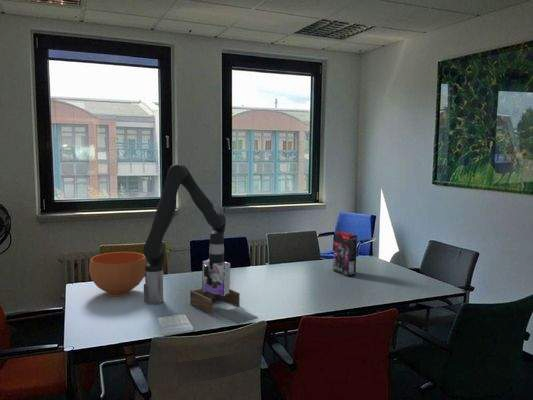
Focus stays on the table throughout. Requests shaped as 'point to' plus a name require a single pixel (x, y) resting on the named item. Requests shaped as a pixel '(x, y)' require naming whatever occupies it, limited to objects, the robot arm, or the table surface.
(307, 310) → the table surface
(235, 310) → the slate mat
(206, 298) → the walnut u-shaped frame
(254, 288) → the table surface
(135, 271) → the bowl
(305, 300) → the table surface
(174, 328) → the calculator
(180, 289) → the table surface
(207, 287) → the candy box
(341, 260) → the graphics card box
